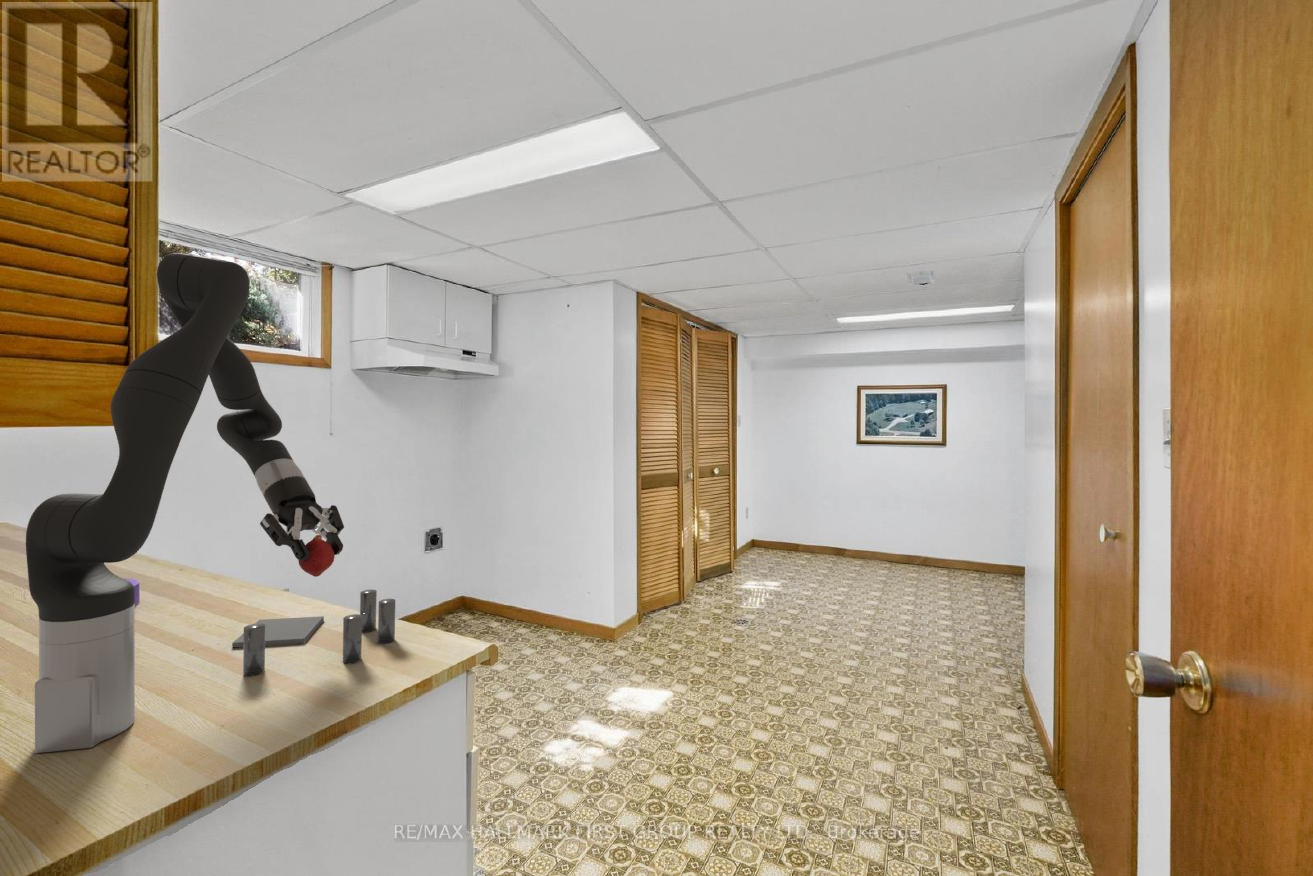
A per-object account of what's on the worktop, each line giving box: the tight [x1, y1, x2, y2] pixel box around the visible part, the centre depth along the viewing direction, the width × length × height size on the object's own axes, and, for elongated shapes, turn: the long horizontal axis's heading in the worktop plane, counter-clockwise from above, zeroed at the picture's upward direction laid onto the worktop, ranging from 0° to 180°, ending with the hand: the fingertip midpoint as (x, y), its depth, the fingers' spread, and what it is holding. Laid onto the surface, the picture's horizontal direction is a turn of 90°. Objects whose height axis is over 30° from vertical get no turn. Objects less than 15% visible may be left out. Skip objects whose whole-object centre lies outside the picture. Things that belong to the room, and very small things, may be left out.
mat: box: [231, 615, 325, 648], centre depth 111 cm, size 12×12×1 cm
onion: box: [297, 534, 336, 578], centre depth 104 cm, size 6×6×8 cm
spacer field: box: [242, 589, 396, 677], centre depth 106 cm, size 20×22×8 cm
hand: (322, 555), depth 104 cm, fingers closed on onion, 5 cm apart
